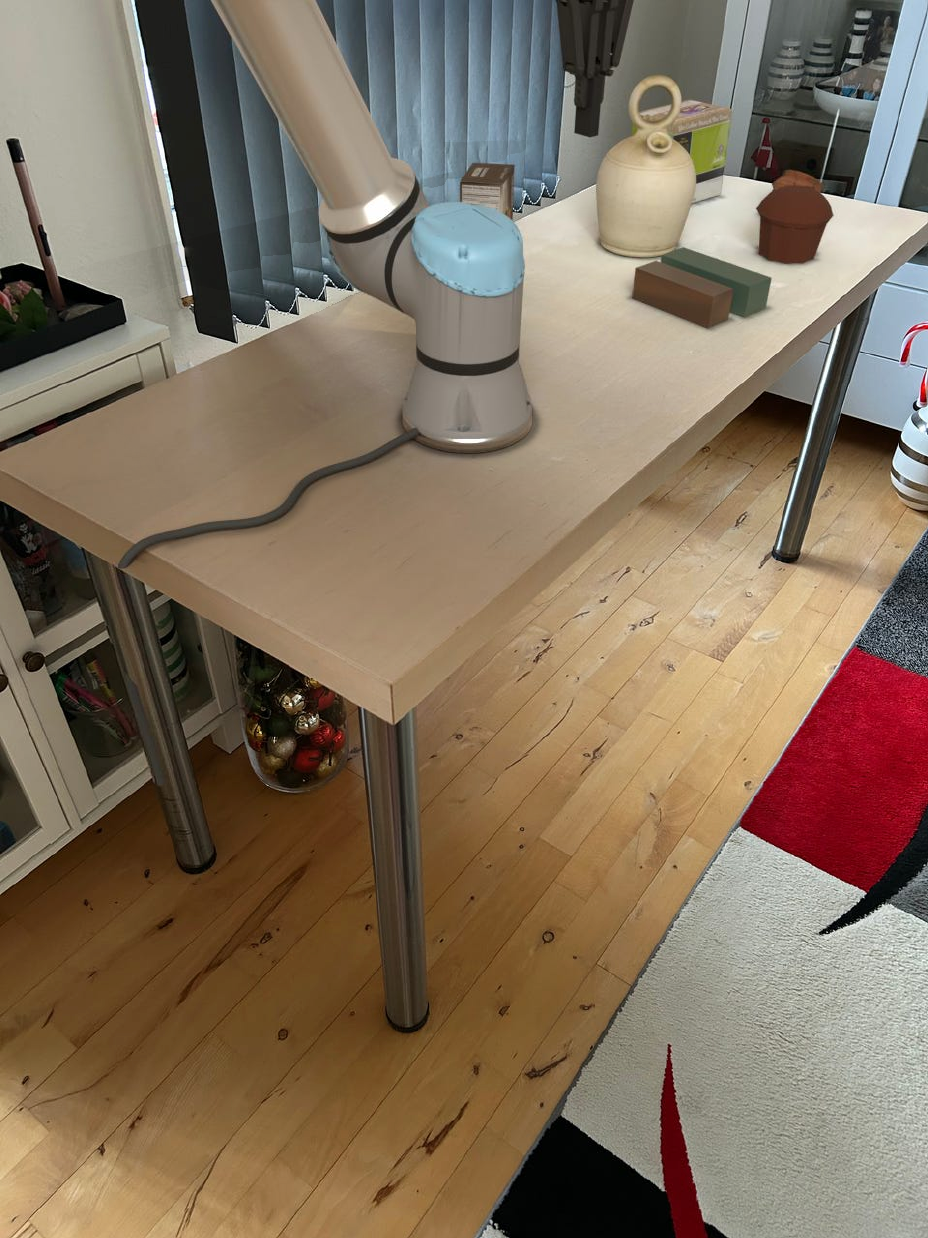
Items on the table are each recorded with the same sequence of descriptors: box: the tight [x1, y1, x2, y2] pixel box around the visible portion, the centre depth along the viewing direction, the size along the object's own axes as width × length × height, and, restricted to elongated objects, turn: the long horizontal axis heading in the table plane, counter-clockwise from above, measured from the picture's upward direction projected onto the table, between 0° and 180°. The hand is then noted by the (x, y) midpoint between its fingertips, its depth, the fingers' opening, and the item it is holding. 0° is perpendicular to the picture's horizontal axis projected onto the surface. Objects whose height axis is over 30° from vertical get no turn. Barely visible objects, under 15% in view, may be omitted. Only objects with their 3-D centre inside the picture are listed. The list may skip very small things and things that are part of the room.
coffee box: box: [459, 162, 516, 222], centre depth 146 cm, size 9×6×16 cm
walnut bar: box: [631, 260, 733, 329], centre depth 143 cm, size 4×14×4 cm, turn 41°
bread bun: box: [771, 169, 824, 194], centre depth 173 cm, size 12×10×8 cm
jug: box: [595, 74, 696, 258], centre depth 156 cm, size 15×16×25 cm
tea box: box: [631, 98, 733, 204], centre depth 178 cm, size 15×10×15 cm, turn 128°
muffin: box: [755, 185, 834, 265], centre depth 158 cm, size 12×11×10 cm
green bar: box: [660, 246, 773, 318], centre depth 146 cm, size 5×16×4 cm, turn 41°
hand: (586, 133), depth 125 cm, fingers closed
